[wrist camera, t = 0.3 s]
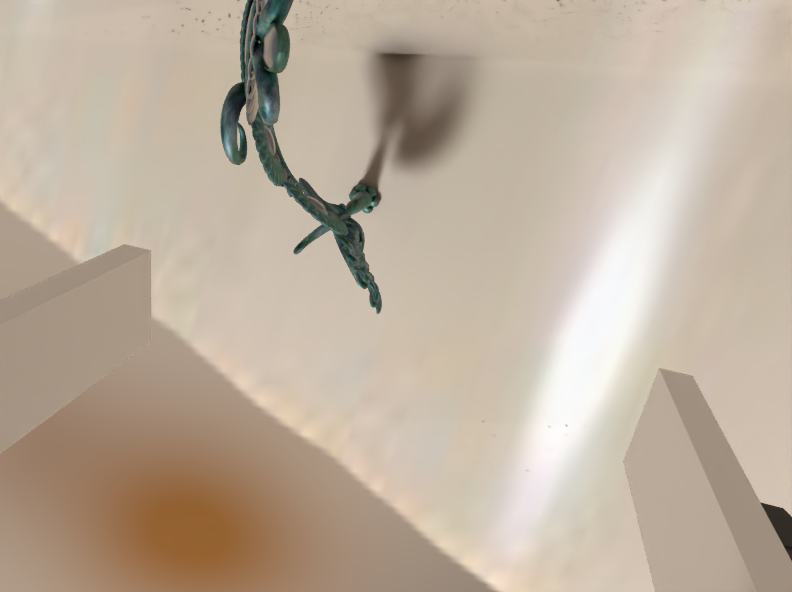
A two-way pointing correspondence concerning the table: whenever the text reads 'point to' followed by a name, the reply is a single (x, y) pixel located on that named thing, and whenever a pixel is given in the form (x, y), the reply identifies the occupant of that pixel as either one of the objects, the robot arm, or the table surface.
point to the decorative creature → (260, 92)
